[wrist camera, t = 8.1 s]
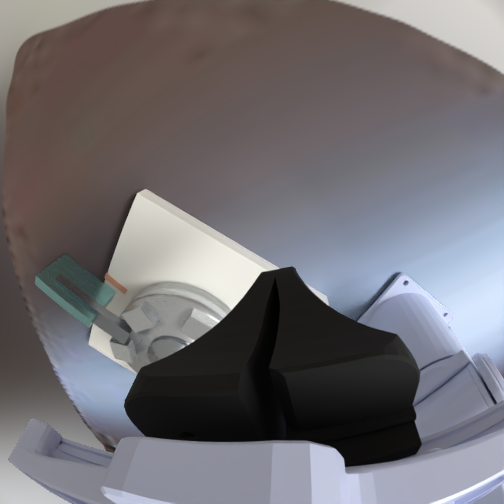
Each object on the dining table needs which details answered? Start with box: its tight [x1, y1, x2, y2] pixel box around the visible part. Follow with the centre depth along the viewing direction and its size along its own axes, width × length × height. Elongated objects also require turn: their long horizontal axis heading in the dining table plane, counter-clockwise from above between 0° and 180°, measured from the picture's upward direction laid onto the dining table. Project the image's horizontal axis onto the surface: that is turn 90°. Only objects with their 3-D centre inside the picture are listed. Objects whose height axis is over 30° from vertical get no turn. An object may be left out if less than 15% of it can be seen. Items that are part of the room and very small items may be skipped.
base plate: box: [89, 189, 329, 374], centre depth 25 cm, size 17×19×2 cm
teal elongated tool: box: [35, 253, 231, 374], centre depth 21 cm, size 18×11×5 cm, turn 55°
